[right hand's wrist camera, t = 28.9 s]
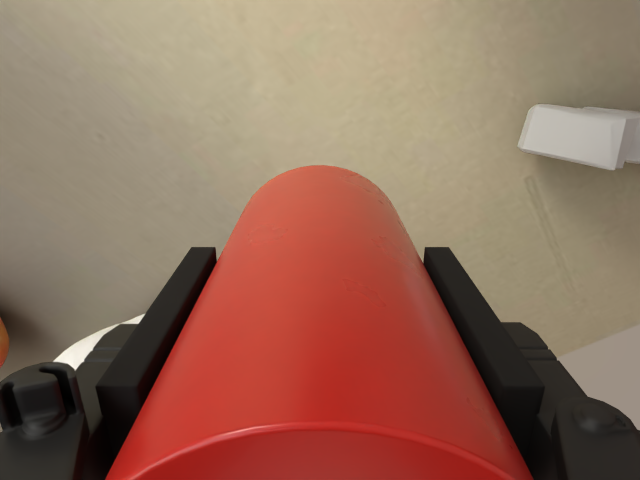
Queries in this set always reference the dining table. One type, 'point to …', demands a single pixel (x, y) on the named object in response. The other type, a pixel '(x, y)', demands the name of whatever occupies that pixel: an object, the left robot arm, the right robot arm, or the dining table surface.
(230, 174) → the dining table surface
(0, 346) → the apple
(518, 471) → the canister
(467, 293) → the right robot arm
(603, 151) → the grey segmented long block
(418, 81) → the dining table surface
